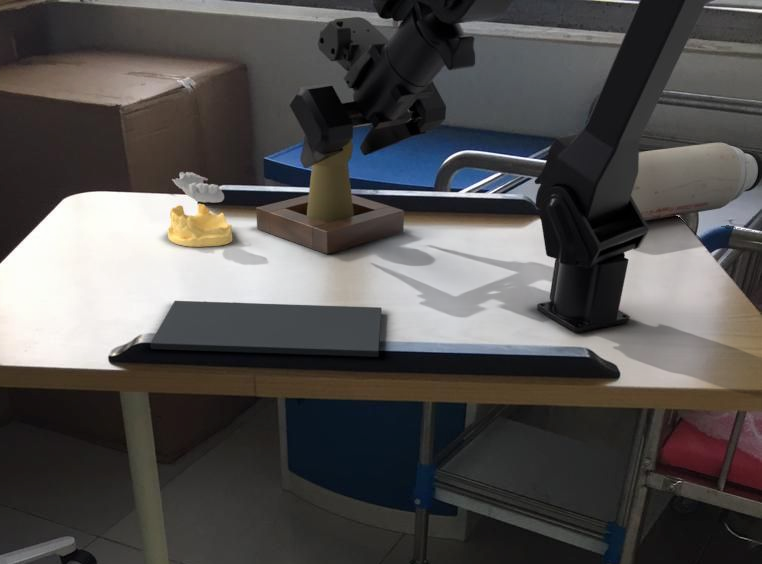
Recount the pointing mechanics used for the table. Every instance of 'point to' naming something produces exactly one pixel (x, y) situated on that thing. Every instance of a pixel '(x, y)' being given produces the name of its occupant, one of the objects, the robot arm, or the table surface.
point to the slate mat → (270, 328)
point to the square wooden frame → (330, 224)
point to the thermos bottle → (693, 179)
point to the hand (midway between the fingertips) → (333, 157)
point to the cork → (331, 188)
